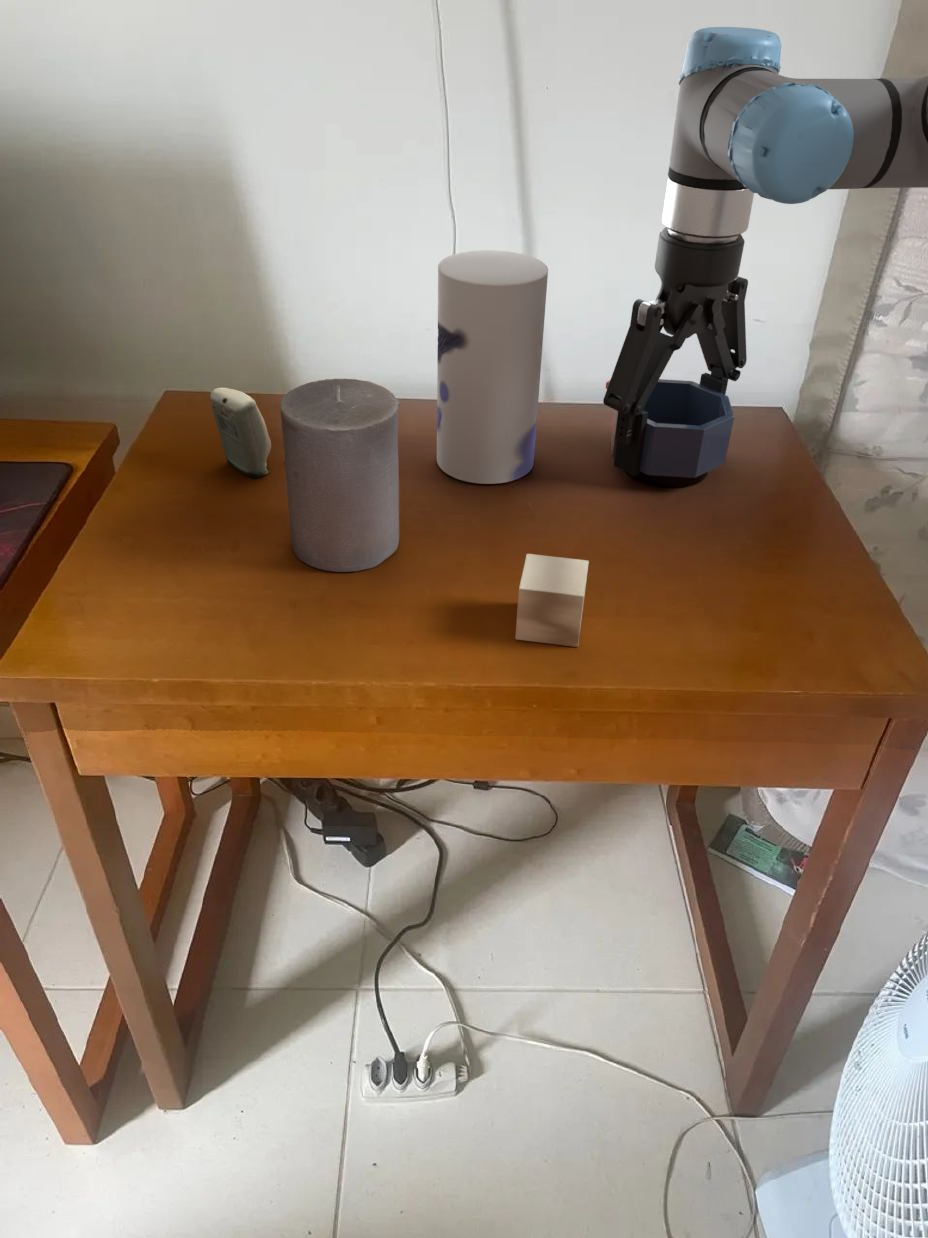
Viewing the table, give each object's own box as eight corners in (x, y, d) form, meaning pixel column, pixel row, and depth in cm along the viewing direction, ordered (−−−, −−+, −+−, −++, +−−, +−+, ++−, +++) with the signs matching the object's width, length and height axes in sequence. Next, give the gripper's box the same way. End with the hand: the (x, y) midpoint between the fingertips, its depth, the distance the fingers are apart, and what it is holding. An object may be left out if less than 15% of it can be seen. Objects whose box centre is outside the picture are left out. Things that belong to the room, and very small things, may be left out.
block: (582, 610, 81) (589, 560, 78) (578, 647, 77) (584, 596, 74) (522, 603, 82) (526, 552, 79) (515, 639, 78) (518, 588, 75)
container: (421, 449, 103) (421, 254, 91) (506, 433, 106) (516, 243, 94) (461, 493, 96) (466, 288, 84) (551, 474, 99) (568, 275, 87)
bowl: (744, 454, 100) (755, 407, 97) (672, 488, 94) (681, 439, 91) (645, 408, 108) (652, 363, 105) (573, 437, 102) (578, 390, 99)
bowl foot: (725, 470, 101) (728, 457, 100) (668, 497, 96) (670, 484, 95) (659, 438, 106) (661, 425, 105) (601, 462, 102) (603, 449, 101)
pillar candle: (286, 521, 91) (271, 367, 82) (390, 510, 93) (386, 358, 84) (298, 580, 83) (283, 418, 74) (411, 566, 86) (409, 407, 76)
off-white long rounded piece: (207, 475, 97) (196, 400, 93) (228, 451, 102) (218, 378, 97) (262, 482, 97) (253, 407, 92) (280, 458, 101) (273, 384, 96)
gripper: (749, 201, 95) (710, 408, 109) (578, 243, 83) (557, 472, 96) (815, 218, 91) (766, 433, 104) (645, 266, 79) (613, 503, 92)
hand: (665, 452), depth 100 cm, fingers closed on bowl, 11 cm apart
